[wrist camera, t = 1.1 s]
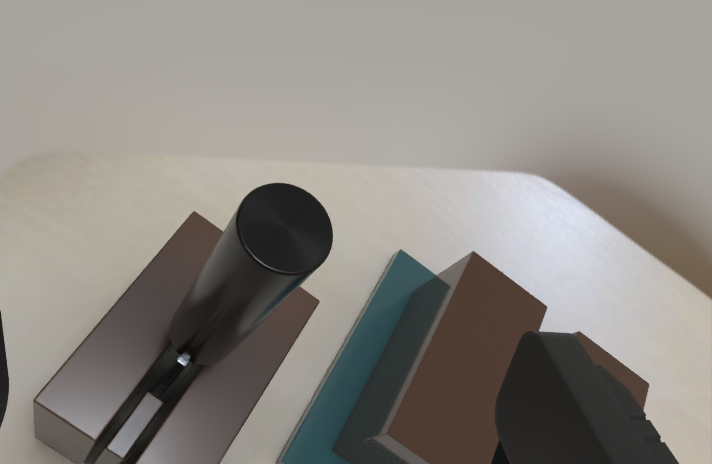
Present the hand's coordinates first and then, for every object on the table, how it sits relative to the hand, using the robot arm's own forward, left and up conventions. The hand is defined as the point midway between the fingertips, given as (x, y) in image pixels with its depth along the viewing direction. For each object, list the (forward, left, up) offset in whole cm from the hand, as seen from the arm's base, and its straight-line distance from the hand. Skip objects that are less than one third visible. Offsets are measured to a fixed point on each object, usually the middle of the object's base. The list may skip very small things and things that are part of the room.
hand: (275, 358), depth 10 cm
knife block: (-3, +4, -27) cm, 27 cm away
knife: (-3, +4, -27) cm, 27 cm away
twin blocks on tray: (+8, +19, -27) cm, 33 cm away
